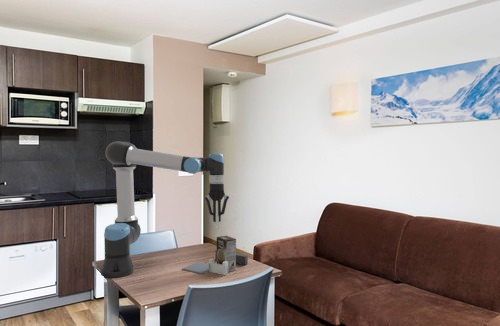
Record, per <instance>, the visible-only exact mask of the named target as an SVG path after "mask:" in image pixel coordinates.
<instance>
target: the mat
mask: <svg viewBox="0 0 500 326" xmlns="http://www.w3.org/2000/svg"><path fill="white" fill-rule="evenodd" d="M181 270H182V271H187V272H192V273H195V274H201V275H203V274H206V273H208V272H209V263H204V262H200V261H198V262H194V263H192V264H190V265H187V266H185V267H182V268H181Z"/></svg>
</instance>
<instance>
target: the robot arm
mask: <svg viewBox="0 0 500 326" xmlns="http://www.w3.org/2000/svg"><path fill="white" fill-rule="evenodd" d="M105 157H106V159H107V161H109V162H110V163H111V164H112V169H113V170H115V175H116V176H115V182H116V183H115V185H116V206H117V207H116V209H117V210H116V211H117V217H116V218H115V219H114V223H113V224H109V225H107V226H106V227H105V228H104V232H103V236H104V260H103V263H102V267H101V268H100V276H102V277H104V278H121V277H126V276H129V275H131V274H133V273H134V269H135V268H134V265H133V261H132V259H131V254H130V253H131V252H130V251H131V248H130V247H131V245H132V244H135V243H136V242H137V241H138V239H139V238H140V235H141V232H142V228H141V225H140V223H139V219H138V217H137V216H136V215H135V214H136V213H135V212H136V211H135V189H134V188H135V187H134V170H135V169H136V168H137V165H140V166H146V167H152V168H158V169H166V170H170V171H171V170H172V171H178V172H183V173H184V172H185V173H189V174H197V173H204V172H205V173H208V172H209V173H208V174H209V179H208V181H209V185H208V186H209V187H208V188H209V190H208V191H209V192H208V194H207V195H206V196H204V199H205V201H206V205H207V209H208V213H209V215H210V216H212V221H213V223H214V228H215V229H216V230H217V229H219V227H220V226H219V225H220V222H221V221H222V218H221V217H222V216H223V215H224V214H225V212H226V208H227V203H228V201H229V198H230V196H229V195H226V193H225V185H224V183H225V178H224V177H225V175H224V174H225V172H224V170H225V162H224V161H225V160H224V154H222V153H209V155H208V157H196V156H195V157H190V156H185V155H184V156H183V155H179V154H178V155H177V154H172V153H166V152H159V151H153V150H147V149H140V148H137V147H136V146H135V145H134V144H133V143H131V142H129V141H118V140H117V141H113V142H111V143H110V144H108V146H107V147H106V148H105ZM210 199H211V201H212V206H211V202H210ZM223 199H224V200H223ZM222 200H223V203H221V202H222ZM221 205H222V206H221Z"/></svg>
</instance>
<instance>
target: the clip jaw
mask: <svg viewBox="0 0 500 326" xmlns="http://www.w3.org/2000/svg"><path fill="white" fill-rule="evenodd" d="M208 264H209V271H208V272H209V273H214V274H219V275H223V276H227V275H229V272H228V261H224V262H223V265H222V264H217V262H215V259H214V258H209V259H208Z"/></svg>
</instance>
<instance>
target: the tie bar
mask: <svg viewBox="0 0 500 326" xmlns="http://www.w3.org/2000/svg"><path fill="white" fill-rule="evenodd" d="M248 258H249V255H246V254H242V253H240V254H239V253H236V265H237V264H238V265H244V266H246V265H248V264H249V263H248V262H249V261H248V260H249V259H248ZM215 260H216V261H217V249H216V250H215Z"/></svg>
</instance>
